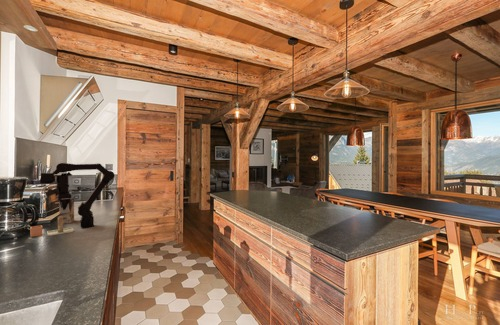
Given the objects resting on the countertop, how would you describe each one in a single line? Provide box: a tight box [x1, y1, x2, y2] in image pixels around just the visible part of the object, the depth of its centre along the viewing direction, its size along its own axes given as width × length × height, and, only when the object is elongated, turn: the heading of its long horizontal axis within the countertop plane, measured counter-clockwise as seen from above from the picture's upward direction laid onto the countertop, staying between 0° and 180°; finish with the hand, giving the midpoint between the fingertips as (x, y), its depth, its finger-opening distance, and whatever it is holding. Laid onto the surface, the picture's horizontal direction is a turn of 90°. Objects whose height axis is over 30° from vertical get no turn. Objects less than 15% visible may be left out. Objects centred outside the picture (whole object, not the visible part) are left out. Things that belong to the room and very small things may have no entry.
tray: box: [46, 227, 75, 237], centre depth 140 cm, size 12×9×1 cm
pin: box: [57, 215, 64, 233], centre depth 140 cm, size 2×2×9 cm
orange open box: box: [29, 225, 44, 238], centre depth 135 cm, size 5×5×5 cm
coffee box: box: [58, 197, 75, 224], centre depth 163 cm, size 9×6×16 cm
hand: (63, 208), depth 146 cm, fingers open, 9 cm apart
